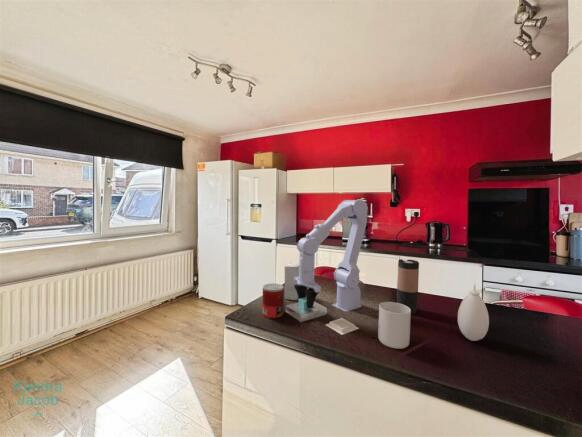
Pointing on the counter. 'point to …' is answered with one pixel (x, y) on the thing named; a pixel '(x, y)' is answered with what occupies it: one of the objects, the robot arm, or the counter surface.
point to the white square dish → (342, 326)
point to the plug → (303, 303)
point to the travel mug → (408, 283)
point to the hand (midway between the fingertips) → (306, 305)
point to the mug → (394, 325)
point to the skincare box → (291, 280)
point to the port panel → (306, 311)
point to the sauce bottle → (473, 316)
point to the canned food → (273, 300)
